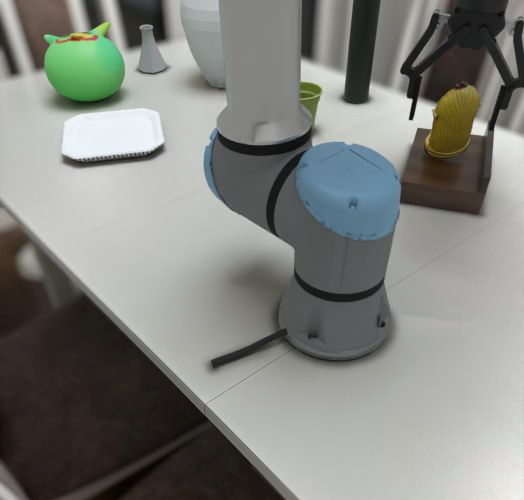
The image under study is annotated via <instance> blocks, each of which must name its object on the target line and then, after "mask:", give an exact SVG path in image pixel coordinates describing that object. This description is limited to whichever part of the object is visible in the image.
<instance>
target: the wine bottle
mask: <svg viewBox="0 0 524 500" xmlns="http://www.w3.org/2000/svg"><path fill="white" fill-rule="evenodd" d="M381 2H382V0H352V9H351V17H350V18H351V19H350V28H349V38H348V39H349V40H348V49H347V59H346V69H345V80H344V89H343V90H344V91H343V100H344V101H345V102H347V103H350V104H363V103H366V102H367V101H368V100H369V96H370V95H369V94H370V87H371V78H372V71H373V63H374V57H375V49H376V41H377V40H376V39H377V32H378V27H379V26H378V25H379V19H380V11H381V4H382V3H381Z"/></svg>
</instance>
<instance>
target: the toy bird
mask: <svg viewBox="0 0 524 500" xmlns="http://www.w3.org/2000/svg"><path fill="white" fill-rule="evenodd" d="M111 25H112V24H111V22H110V21H106V22H103V23H101V24H99V25H98V26H96V27H95V28H93V29H91V30H90V31H81V32H72V33H71V32H70V33H67V34H64V35H62V36H60V37H59V36H56V35H53V34H44V35H43V38H44V40H45V41H46V43H48V45H49V46H48V47H47V50H46V52H45V55H44V60H43V61H44V62H43V66H44V67H43V68H44V73H45V75H46V76H45V77H46V78H47V80H48V82H49V84H50V85H51V87H53V89H54V90H55V91H56V92H57V93H59V94H60V95H62V96H63V97H65V98H67V99H70V100H73V101H77V102H97V101H101V100H103V99H106V98H109V97H110V96H112V95H114V94H115V93H116V92H118V90H119V89H120V88H121V87H122V85H123V83H124V80H125V76H126V64H125V59H124V57H123V55H122V53H121V51H120V49H119V48H118V46H116V44H115V43H114V42H113V41H111V40H110V39H108V38H107V37H105V36H106V34H107V32H108V30H109V29H110V27H111Z"/></svg>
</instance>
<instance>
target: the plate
mask: <svg viewBox="0 0 524 500" xmlns="http://www.w3.org/2000/svg"><path fill="white" fill-rule="evenodd" d="M165 144H166V142H165V137H164V131H163V125H162V119H161V114H160V113H159V112H158V111H156V110H152V109H149V108H146V107H140V108H129V109H120V110H109V111H100V112H89V113H79V114H77V115H75V116H73V117H71V118H68V119H67V120H65V121H64V122H63V129H62V137H61V146H60V154H61V156H62V157H65V158H68V159H71V160H74V161H79V162H82V163H83V162H84V163H93V162H95V163H96V162H103V161H111V160H120V159H130V158H139V157H145V156H146V155H148V154H150V153H153V152H154V151H156V150H157V149H159V148H161V147H163V146H164V145H165Z"/></svg>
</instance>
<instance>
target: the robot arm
mask: <svg viewBox="0 0 524 500" xmlns="http://www.w3.org/2000/svg"><path fill="white" fill-rule="evenodd" d="M218 1H219V13H220V25H221V36H222V48H223V60H224V72H225V84H226V88H225V93H226V106H225V107H224V108H223V109H222V110H221V112H220V113H219V114H218V116H217V117H216V122H215V123H216V126H215V127H214V128H213V130H212V131H211V133H210V135H209V137H208V139H209V140H210V143H209V144H208V145H205V147H204V152H203V164H202V165H203V172H204V177H205V181H206V183H207V186H208V188H209V190H210V192H211V193H212V194H213V196H215V198H217V199H218V200H219V201H220V202H221V203H223V204H224V205H225V206H226V208H228V209H229V210H230V211H232V212H234V213H236V214H237V215H239V216H241V217H243V218H245V219H247V220H248V221H250V222H252V223H253V224H255V225H256V226H258V227H260V228H261V229H263V230H265V231H266V232H267V233H269V234H271V235H273V236H275V238H278V239H279V240H281V241H283V242H284V243H285V244H288V245H289V246H290V247H292V249H293V251H294V255H293V256H294V257H293V260H294V261H293V274H292V276H291V278H290V280H289V282H288V284H287V287H286V289H285V291H284V294H283V296H282V297H281V300H280V303H279V308H278V324H279V328H280V330H277V331H276V332H273V333H271V334H269V335H267V336H265V337H263V338H261V339H259V340H257V341H254V342H253V343H251V344H249V345H247V346H244V347H242V348H240V349H237V350H234V351H232V352H229V353H226V354H223V355H221V356H218V357H214V358H212V359H210V363H211V365H212V367H216V366H219V365H221V364H224V363H227V362H230V361H233V360H236V359H238V358H241V357H243V356H245V355H248V354H250V353H252V352H255V351H256V350H258V349H260V348H262V347H264V346H266V345H268V344H270V343H273V342H274V341H276V340H278V339H281V338H283V337H284V338H285V339H286V340H287V341H288V343H290V345H292V346H293V347H294V348H296V349H297V350H299V351H300V352H302V353H305V354H306V355H309V356H312V357H314V358H318V359H322V360H329V361H347V360H348V361H349V360H355V359H358V358H361V357H364V356H367V355H368V354H370V353H372V352H374V351H376V349H378V348H379V347H380V346H381V345H382V344H383V342H384V341H385V340H386V338H387V335H388V333H389V329H390V324H391V320H392V319H391V309H390V304H389V298H388V293H387V289H386V284H385V280H386V273H387V269H388V265H389V261H390V255H391V250H392V246H393V240H394V238H395V237H394V236H395V232H396V227H397V223H398V222H399V218H400V212H401V210H400V209H401V207H400V203H401V202H400V195H401V180H400V175H399V173H398V171H397V170H396V168H395V166H394V164H392V162H391V161H390V160H389V159H388V158H386V157H385V156H384V155H382V154H381V153H380V152H378V151H376V150H374V149H372V148H370V147H368V146H366V145H365V146H364V145H362V144H358V143H355V142H354V143H352V144H347V143H346V142H345V141H328V142H322V143H319V144H316V145H313V132H312V115H311V113H310V111H309V110H308V109H307V108H306V107H305V106H304V105H303V104H302V103H301V102H300V81H301V79H302V78H301V76H302V75H301V73H302V68H301V67H302V23H303V21H302V18H303V17H302V15H303V14H302V13H303V12H302V11H303V0H218ZM509 1H510V0H455V3H454V7H453V10H452V11H451V13H445V12H441V10H440V9H438V8H437V9H434V10H433V11H432V14H431V16H430V20H429V23H428V25H427V27H426V29H425V30H424V32H423V33H422V35H421V36H420V38H419V39H418V40H417V42H416V44H415V45H414V46H413V48H412V50H411V51H410V52H409V54H408V55H407V56H406V58H405V60H404V61H403V63H402V64H401V67H400V69H399V73H400V75H402V76H406V77H407V78H408V80H409V81H408V85H407V92H406V99H409V100H411V104H410V110H409V115H408V121H414V118H415V114H416V109H417V105H418V99H419V95H420V90H421V84H422V81H423V74H424V72H426V71H427V70H428V69H429V68H430V67H431V66H432V65H433V64H434V63H436V61H438V60H439V59H440V58H441V57H442V56H444V54H445V53H446V52H448V51H449V50H451V49H452V48H453V47H454V46H455V45H456V46H457V47H459V49H465V50H466V49H472V50H475V51H480V50H481V49H485V48H486V50H487V52H488V55H490V57H491V60H492V62H493V64H494V66H495V67H496V69H497V71H498V73H499V76H500V78H501V80H502V82H503V84H501V85H500V87H499V91H498V93H497V97H496V100H495V103H494V107H493V110H492V114H491V117H490V120H489V121H490V123H489V131H493V130H494V131H495V128H494V127H495V126H496V124H497V120H498V118H499V114H500V110H502V111H506V110H507V109H508V108H509V105H510V102H511V99H512V96H513V93H514V92H515V90H516V89H520V88H521V89H524V41H523V32H524V16H521V15H520V16H517V17H516V18H506V11H507V8H508V4H509ZM444 24H447V26H448V29H449V31H450V33H449V34H448V35H447V36H446V37H445V38H444V39H443V40H442V41H441V42H440V43H439V44H438V45H437V46H436V47H435V48H434V49H432V50H431V51H430V52H429V53H428V54H427V55H426V56H425V57H424V58H423V59H422V60H421V61H420V62H419V63H417V64H416V65H415V66H413V64H414V63H415V62H416V60H417V58H418V57H419V56H420V54H421V53H422V51H423V50H424V48H425V47H426V46H427V44H428V43H429V41H430V39H431V38H432V37H433V35H434V34H435V32H436V30H440V29H441V28H443V25H444ZM504 29H506V30H507V34H508V35H509V37H512V44H513V51H514V56H515V57H514V58H515V64H516V69H517V77H514V75H513V72H512V70H511V69H510V67H509V65H508V62H507V60H506V58H505V56H504V54H503V52H502V50H501V47H500V45H499V42H498V40H497V37H498V35H499V34H500V33H502V32H503V31H504Z"/></svg>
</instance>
